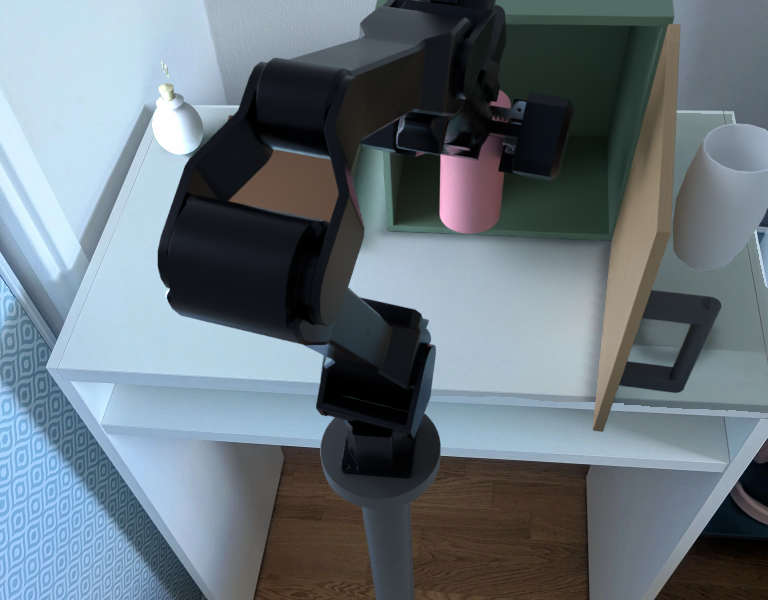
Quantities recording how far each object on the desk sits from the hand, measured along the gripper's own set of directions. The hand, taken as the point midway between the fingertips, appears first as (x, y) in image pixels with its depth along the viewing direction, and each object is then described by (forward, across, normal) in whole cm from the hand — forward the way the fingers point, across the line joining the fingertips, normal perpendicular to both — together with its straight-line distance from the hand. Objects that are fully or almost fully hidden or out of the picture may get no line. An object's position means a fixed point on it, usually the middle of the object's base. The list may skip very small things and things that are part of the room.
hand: (476, 145), depth 75 cm
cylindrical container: (+5, 0, +6) cm, 7 cm away
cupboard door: (+3, -20, +14) cm, 25 cm away
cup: (+4, -23, +14) cm, 27 cm away
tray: (+11, +25, +6) cm, 28 cm away
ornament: (+14, +40, +4) cm, 42 cm away
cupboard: (+16, -1, +1) cm, 17 cm away
